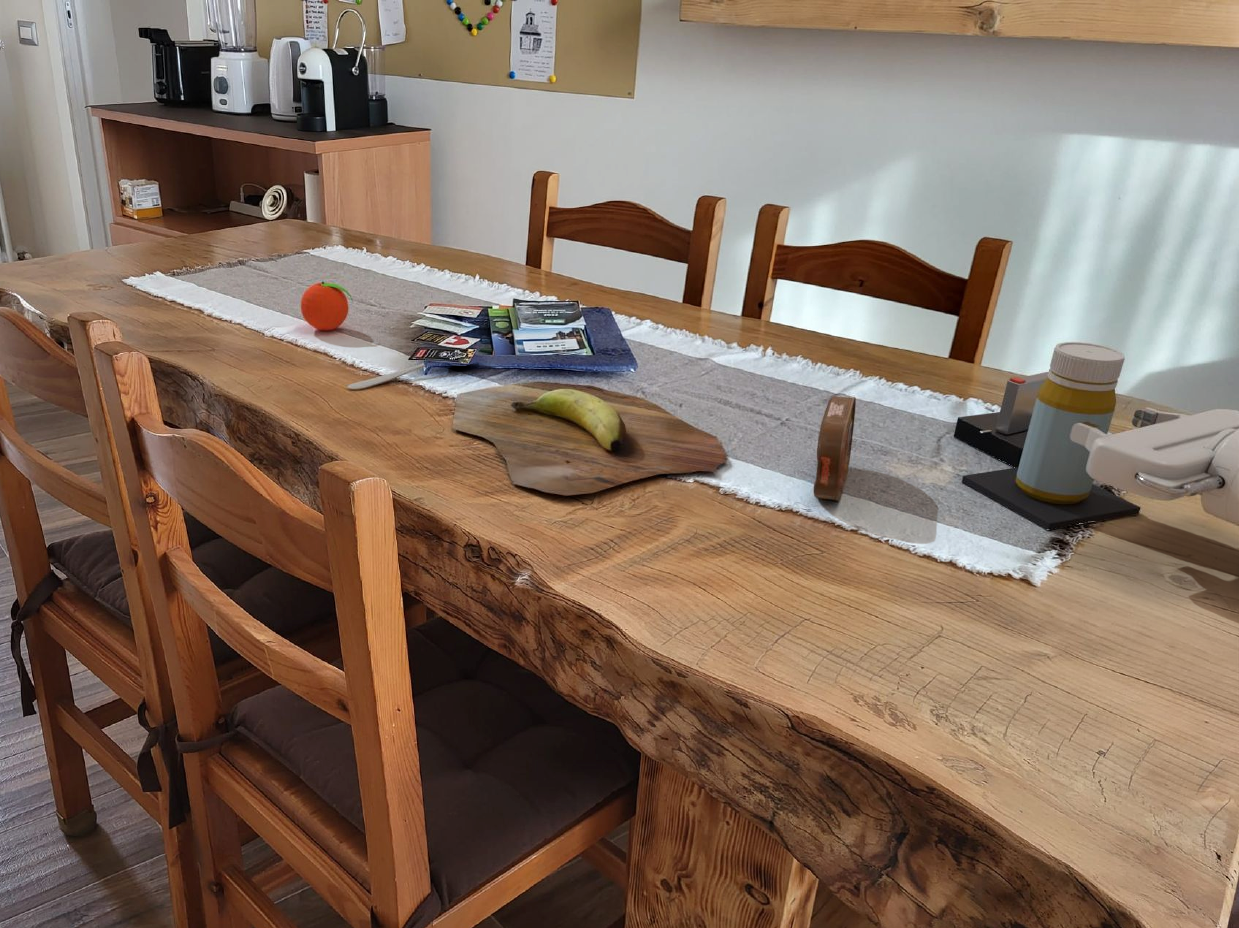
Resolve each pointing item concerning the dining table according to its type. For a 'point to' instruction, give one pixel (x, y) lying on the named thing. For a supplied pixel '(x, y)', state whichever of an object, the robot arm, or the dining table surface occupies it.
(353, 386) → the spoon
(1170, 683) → the dining table surface
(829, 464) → the tin
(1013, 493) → the mat
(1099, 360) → the bottle
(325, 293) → the clementine
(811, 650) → the dining table surface
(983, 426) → the base
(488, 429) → the cutting board
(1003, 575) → the dining table surface
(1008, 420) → the tap lever
